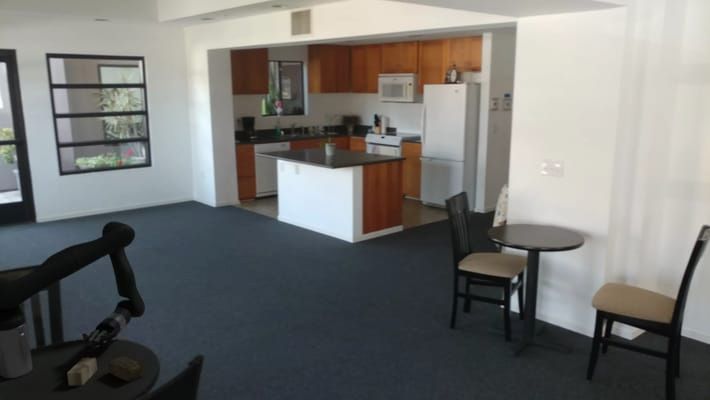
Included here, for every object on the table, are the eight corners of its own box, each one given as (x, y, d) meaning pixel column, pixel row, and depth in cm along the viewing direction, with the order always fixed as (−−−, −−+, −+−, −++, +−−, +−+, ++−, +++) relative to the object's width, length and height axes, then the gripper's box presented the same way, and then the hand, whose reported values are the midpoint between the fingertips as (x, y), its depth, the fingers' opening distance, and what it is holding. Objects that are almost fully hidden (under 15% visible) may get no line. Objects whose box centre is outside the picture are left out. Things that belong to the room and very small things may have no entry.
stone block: (129, 384, 182) (128, 370, 181) (108, 374, 188) (106, 361, 187) (144, 376, 187) (143, 362, 186) (123, 367, 193) (121, 354, 192)
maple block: (84, 369, 191) (68, 385, 181) (83, 357, 190) (67, 372, 180) (97, 369, 191) (82, 385, 181) (95, 357, 190) (80, 373, 180)
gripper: (92, 317, 205) (66, 339, 188) (127, 317, 204) (104, 339, 187) (94, 336, 206) (69, 359, 190) (129, 336, 206) (107, 359, 189)
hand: (87, 349), depth 189 cm, fingers closed
